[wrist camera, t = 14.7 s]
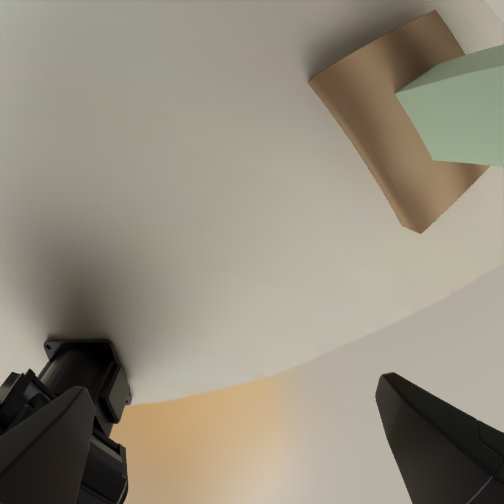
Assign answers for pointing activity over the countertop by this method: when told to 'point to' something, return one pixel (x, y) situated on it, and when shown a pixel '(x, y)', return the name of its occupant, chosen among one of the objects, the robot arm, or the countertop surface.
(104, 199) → the countertop surface
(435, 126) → the sage block
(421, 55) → the walnut plinth
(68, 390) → the robot arm
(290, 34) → the countertop surface
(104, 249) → the countertop surface
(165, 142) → the countertop surface
